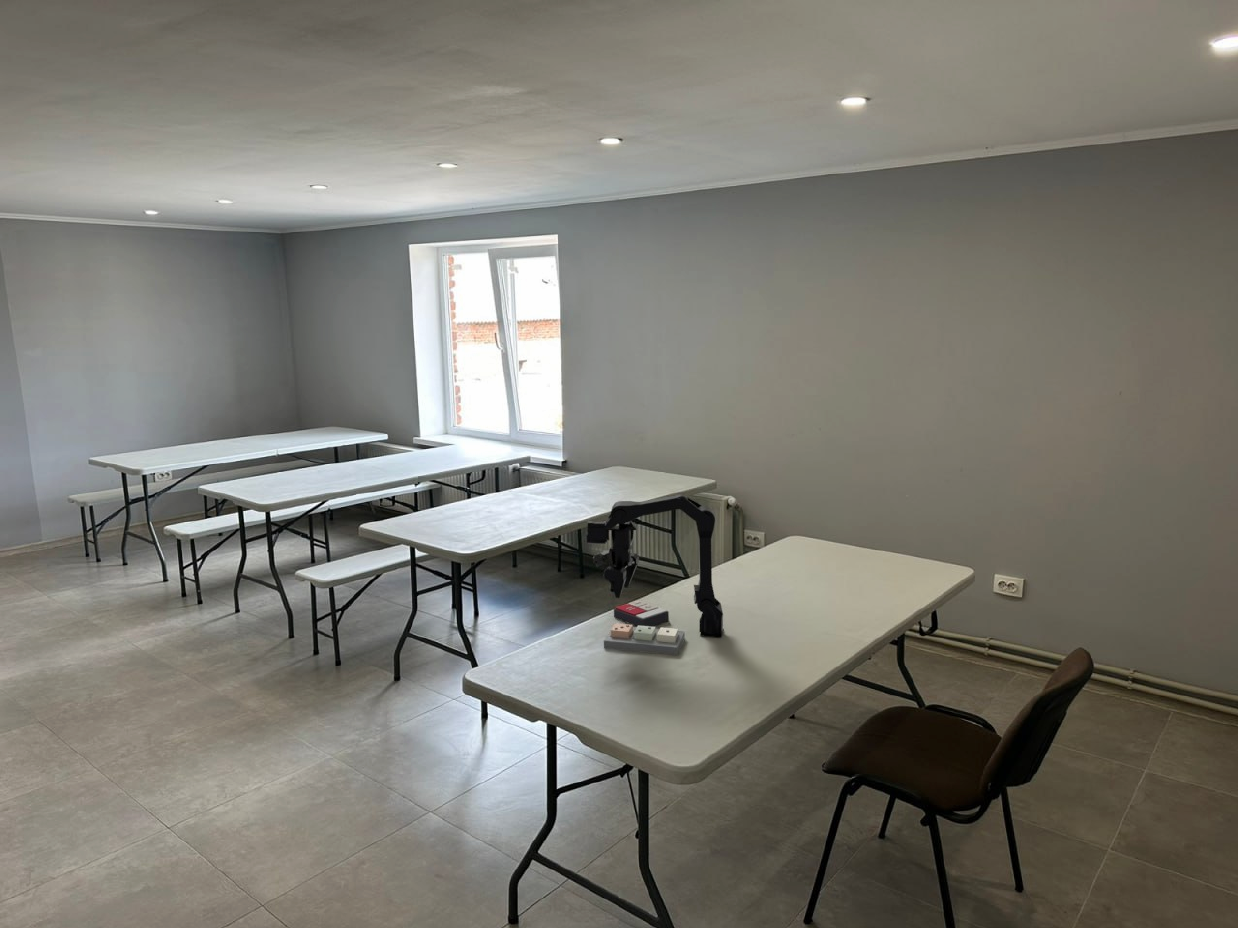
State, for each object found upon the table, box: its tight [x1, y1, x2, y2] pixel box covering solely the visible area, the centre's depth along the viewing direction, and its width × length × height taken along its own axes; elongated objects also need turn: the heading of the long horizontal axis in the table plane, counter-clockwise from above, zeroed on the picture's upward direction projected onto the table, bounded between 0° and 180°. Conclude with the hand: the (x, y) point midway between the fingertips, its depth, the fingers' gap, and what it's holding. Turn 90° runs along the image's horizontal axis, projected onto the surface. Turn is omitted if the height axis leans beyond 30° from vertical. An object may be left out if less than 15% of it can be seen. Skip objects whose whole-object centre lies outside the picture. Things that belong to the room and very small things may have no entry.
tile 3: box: [610, 623, 634, 639], centre depth 241 cm, size 5×5×3 cm
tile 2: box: [634, 625, 656, 641], centre depth 239 cm, size 5×5×3 cm
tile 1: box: [657, 626, 679, 643], centre depth 237 cm, size 5×5×3 cm
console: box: [603, 626, 685, 656], centre depth 240 cm, size 22×12×2 cm, turn 75°
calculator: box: [613, 599, 670, 628], centre depth 259 cm, size 11×4×15 cm
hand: (622, 592), depth 245 cm, fingers open, 9 cm apart
